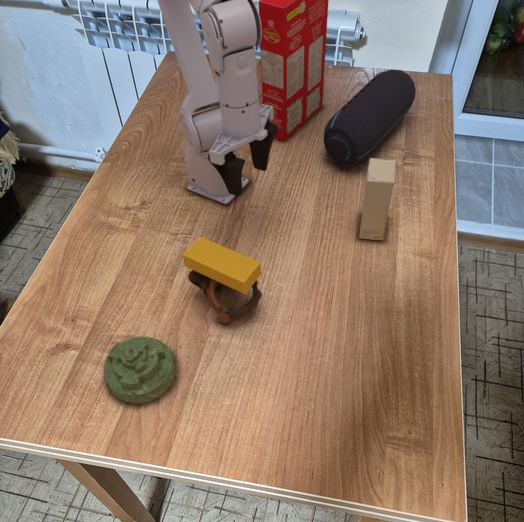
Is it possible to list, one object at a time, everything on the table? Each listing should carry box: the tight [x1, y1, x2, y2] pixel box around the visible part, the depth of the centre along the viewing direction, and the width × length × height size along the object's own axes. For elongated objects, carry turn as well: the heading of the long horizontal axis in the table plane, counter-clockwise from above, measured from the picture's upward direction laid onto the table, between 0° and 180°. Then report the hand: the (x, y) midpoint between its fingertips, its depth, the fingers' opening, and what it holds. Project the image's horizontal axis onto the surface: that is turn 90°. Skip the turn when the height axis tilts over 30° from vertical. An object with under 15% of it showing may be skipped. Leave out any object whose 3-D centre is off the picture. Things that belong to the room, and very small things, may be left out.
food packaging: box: [257, 0, 329, 142], centre depth 100 cm, size 15×5×25 cm, turn 144°
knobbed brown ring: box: [187, 269, 263, 325], centre depth 81 cm, size 12×10×8 cm
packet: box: [182, 236, 262, 295], centre depth 76 cm, size 11×4×2 cm, turn 58°
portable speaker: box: [323, 68, 417, 168], centre depth 102 cm, size 25×10×10 cm, turn 145°
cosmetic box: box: [358, 157, 397, 241], centre depth 86 cm, size 6×4×12 cm
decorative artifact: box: [102, 336, 177, 405], centre depth 73 cm, size 10×7×10 cm
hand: (248, 181), depth 84 cm, fingers open, 7 cm apart
